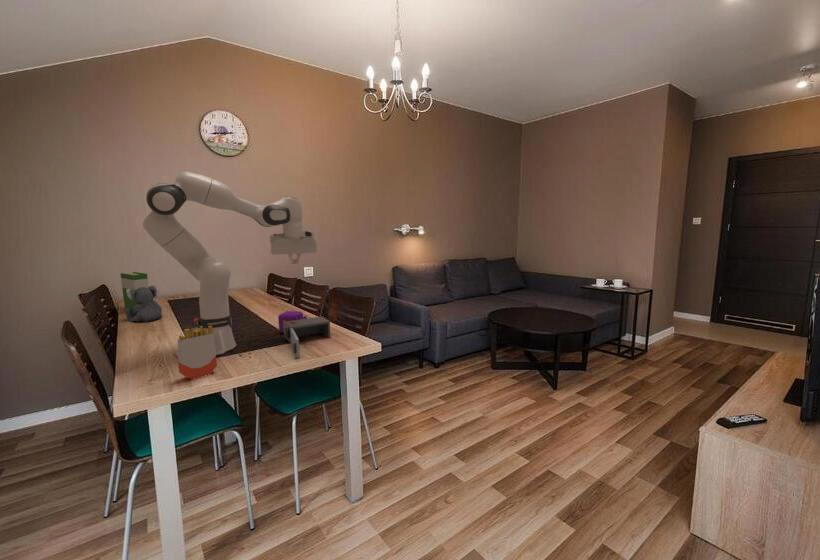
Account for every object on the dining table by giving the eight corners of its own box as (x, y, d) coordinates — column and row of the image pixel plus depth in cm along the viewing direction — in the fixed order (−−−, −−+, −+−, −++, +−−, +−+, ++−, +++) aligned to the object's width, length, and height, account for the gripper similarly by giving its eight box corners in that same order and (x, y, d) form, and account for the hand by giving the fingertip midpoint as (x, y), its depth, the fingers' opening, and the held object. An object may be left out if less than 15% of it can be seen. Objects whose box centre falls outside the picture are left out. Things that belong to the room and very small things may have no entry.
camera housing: (289, 345, 163) (288, 326, 162) (282, 338, 172) (281, 320, 171) (330, 337, 173) (329, 319, 172) (322, 331, 182) (321, 315, 181)
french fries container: (179, 378, 128) (174, 328, 125) (212, 369, 136) (207, 322, 134) (184, 382, 125) (179, 331, 122) (217, 372, 133) (213, 324, 131)
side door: (288, 344, 163) (287, 328, 161) (293, 344, 163) (292, 327, 162) (294, 358, 146) (293, 340, 145) (299, 357, 147) (298, 339, 146)
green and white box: (125, 311, 231) (120, 273, 227) (138, 308, 237) (134, 271, 233) (137, 314, 221) (132, 275, 218) (151, 312, 228) (147, 273, 224)
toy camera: (305, 334, 179) (303, 314, 177) (277, 334, 179) (275, 314, 178) (311, 328, 189) (310, 309, 188) (285, 328, 190) (283, 309, 188)
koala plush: (161, 314, 222) (157, 282, 219) (168, 319, 210) (165, 285, 207) (125, 319, 210) (121, 286, 207) (131, 325, 198) (126, 289, 195)
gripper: (271, 233, 159) (273, 265, 161) (317, 232, 170) (318, 262, 172) (267, 233, 164) (270, 264, 166) (312, 232, 175) (314, 261, 177)
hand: (295, 263), depth 169 cm, fingers closed
